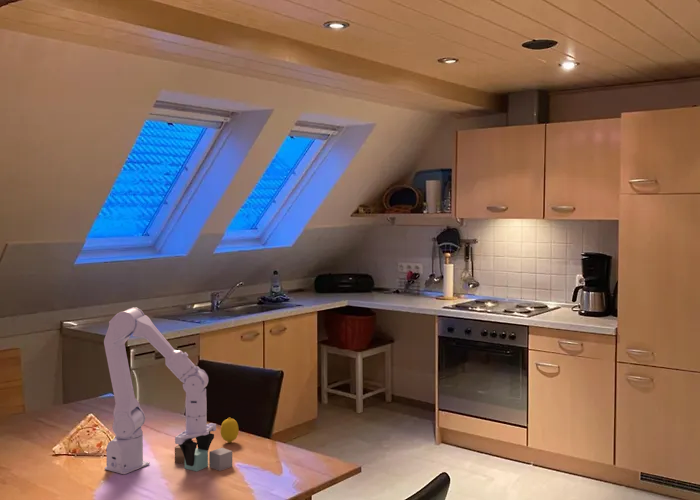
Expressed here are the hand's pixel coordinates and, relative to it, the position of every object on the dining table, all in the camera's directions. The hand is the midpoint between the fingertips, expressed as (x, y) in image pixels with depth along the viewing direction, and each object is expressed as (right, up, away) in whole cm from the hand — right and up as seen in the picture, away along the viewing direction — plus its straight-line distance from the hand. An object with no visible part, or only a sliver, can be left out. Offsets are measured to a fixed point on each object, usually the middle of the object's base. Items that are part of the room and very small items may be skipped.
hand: (196, 462), depth 194 cm
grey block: (+7, -2, +1) cm, 7 cm away
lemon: (+6, -1, +21) cm, 22 cm away
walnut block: (-4, -1, +5) cm, 7 cm away
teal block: (0, -1, 0) cm, 1 cm away
